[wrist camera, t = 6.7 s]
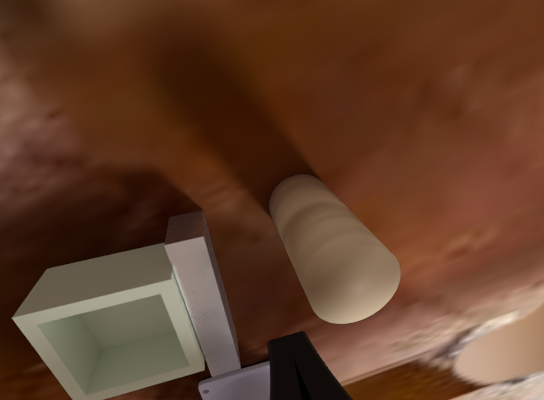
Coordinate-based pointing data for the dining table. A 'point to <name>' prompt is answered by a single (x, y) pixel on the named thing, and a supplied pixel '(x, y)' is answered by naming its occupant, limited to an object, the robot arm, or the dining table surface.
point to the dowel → (332, 251)
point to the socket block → (112, 324)
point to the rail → (203, 290)
